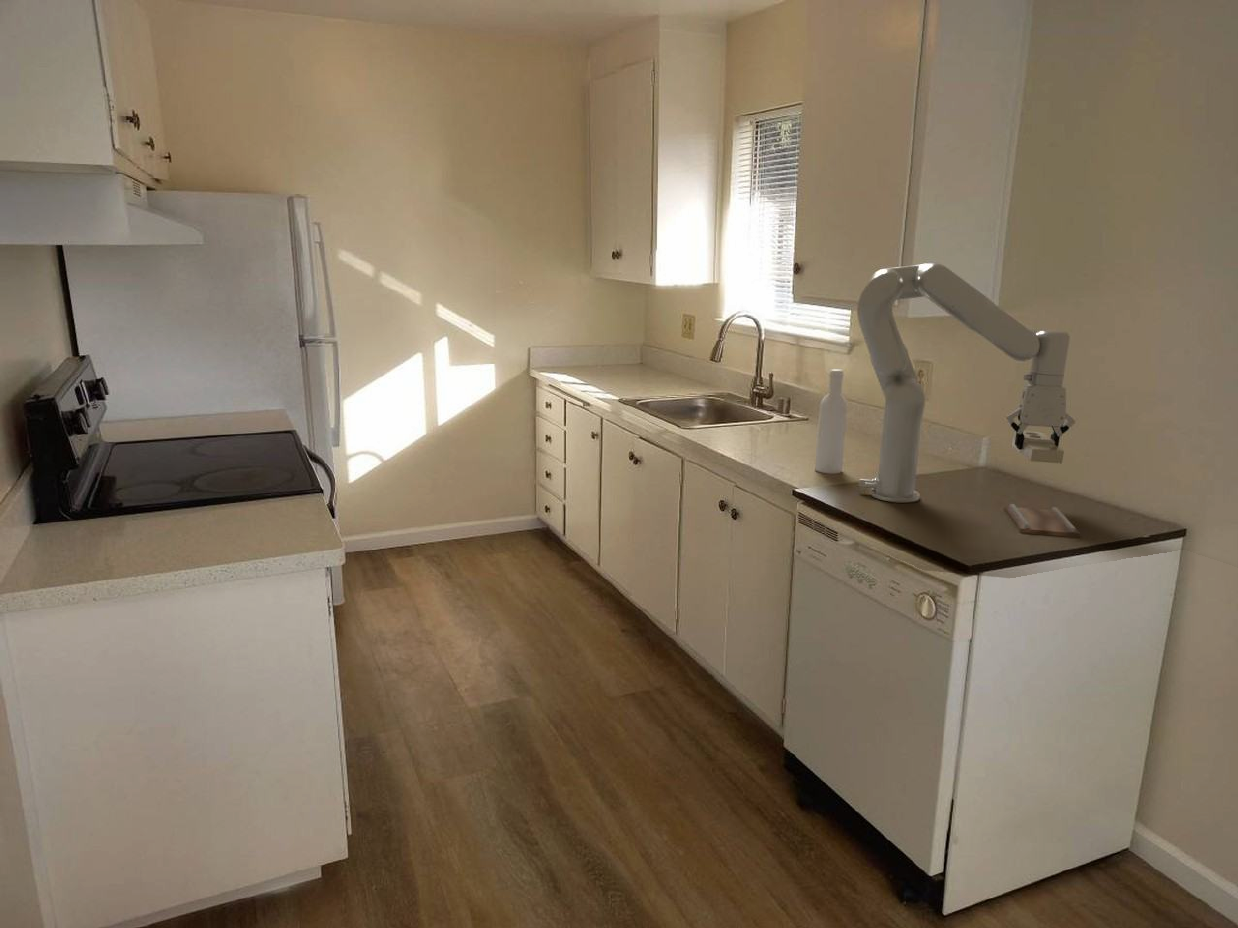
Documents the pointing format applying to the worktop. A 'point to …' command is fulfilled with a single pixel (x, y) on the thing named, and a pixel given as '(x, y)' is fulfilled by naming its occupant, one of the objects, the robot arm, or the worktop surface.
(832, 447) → the bottle
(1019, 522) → the rail board
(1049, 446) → the electrical outlet
